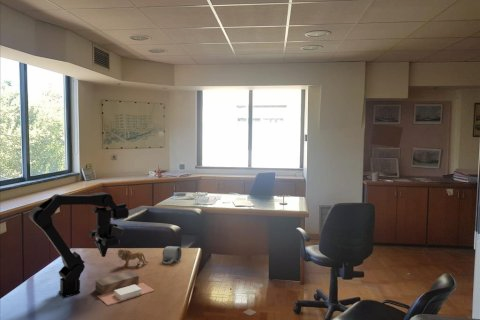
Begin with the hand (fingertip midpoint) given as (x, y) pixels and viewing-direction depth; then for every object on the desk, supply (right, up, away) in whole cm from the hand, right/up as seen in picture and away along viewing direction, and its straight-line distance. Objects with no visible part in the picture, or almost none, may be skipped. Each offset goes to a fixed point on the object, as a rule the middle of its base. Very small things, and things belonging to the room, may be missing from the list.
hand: (103, 256), depth 150 cm
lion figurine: (+5, -11, +23) cm, 26 cm away
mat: (+13, -13, -9) cm, 20 cm away
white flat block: (+14, -12, -10) cm, 21 cm away
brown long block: (+7, -12, -3) cm, 14 cm away
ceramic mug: (+23, -11, +31) cm, 40 cm away
